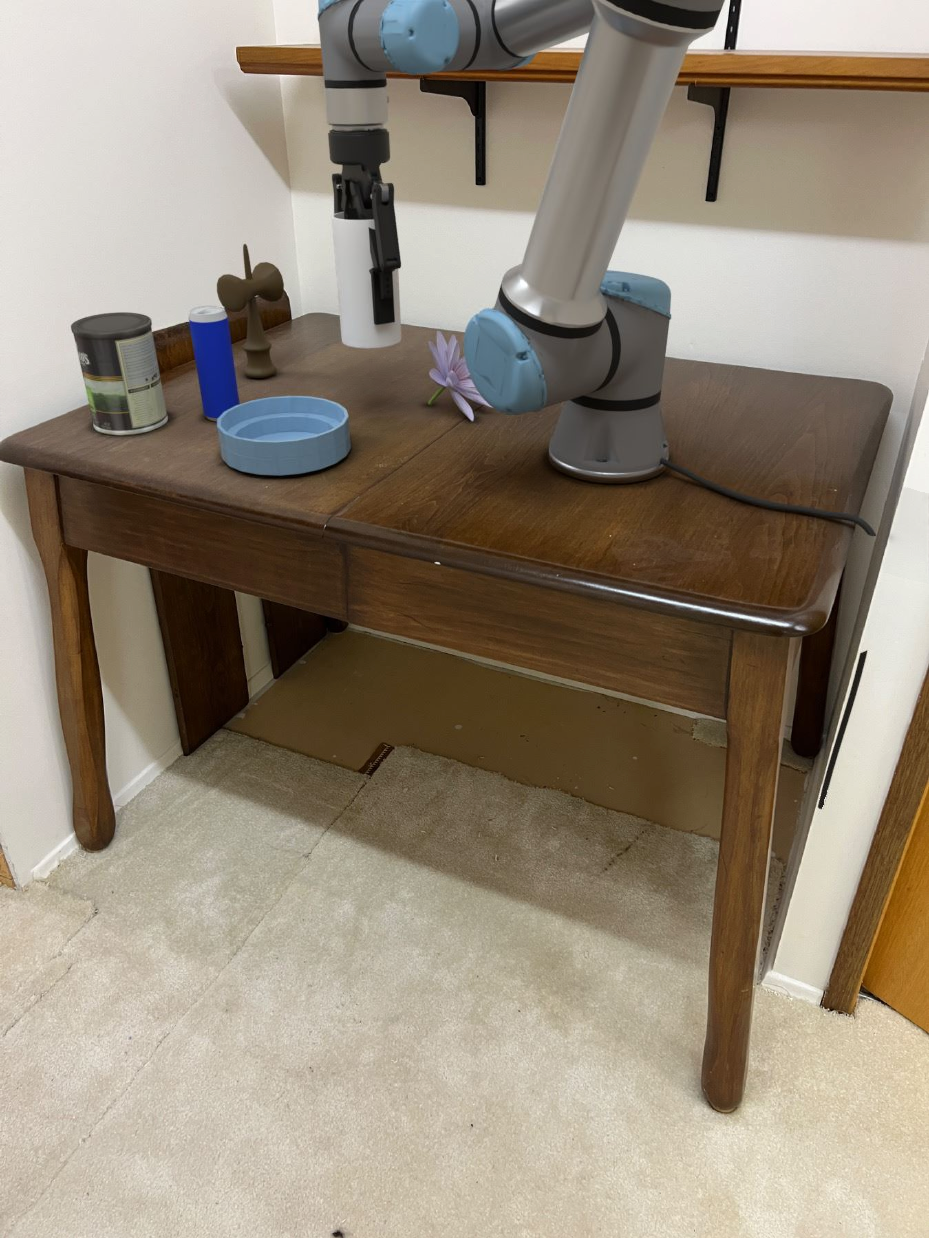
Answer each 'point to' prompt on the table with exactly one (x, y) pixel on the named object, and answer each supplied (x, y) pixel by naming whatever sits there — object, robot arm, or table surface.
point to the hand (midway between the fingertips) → (370, 315)
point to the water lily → (453, 374)
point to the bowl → (284, 435)
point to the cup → (360, 287)
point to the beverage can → (214, 360)
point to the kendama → (253, 309)
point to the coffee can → (120, 372)
